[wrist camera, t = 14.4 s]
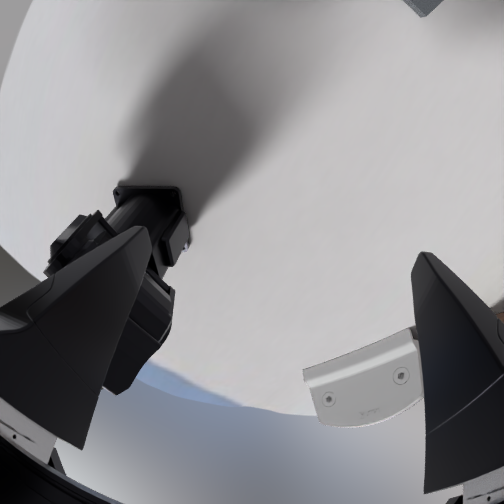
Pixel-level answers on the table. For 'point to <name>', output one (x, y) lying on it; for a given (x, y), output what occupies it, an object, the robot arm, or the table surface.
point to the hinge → (368, 383)
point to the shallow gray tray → (423, 6)
